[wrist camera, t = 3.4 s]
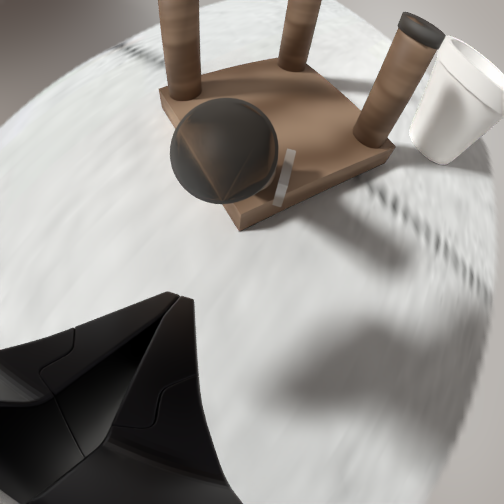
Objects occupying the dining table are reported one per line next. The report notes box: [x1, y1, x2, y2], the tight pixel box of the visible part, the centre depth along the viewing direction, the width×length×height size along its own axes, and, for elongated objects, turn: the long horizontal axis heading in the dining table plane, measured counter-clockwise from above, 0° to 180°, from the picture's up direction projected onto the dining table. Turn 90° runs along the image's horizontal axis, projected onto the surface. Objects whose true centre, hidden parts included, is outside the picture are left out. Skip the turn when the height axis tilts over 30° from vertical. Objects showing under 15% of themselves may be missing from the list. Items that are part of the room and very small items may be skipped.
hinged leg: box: [170, 98, 279, 204], centre depth 13 cm, size 3×3×11 cm
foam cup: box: [409, 36, 504, 165], centre depth 21 cm, size 10×9×13 cm
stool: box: [158, 0, 445, 231], centre depth 18 cm, size 17×17×15 cm
